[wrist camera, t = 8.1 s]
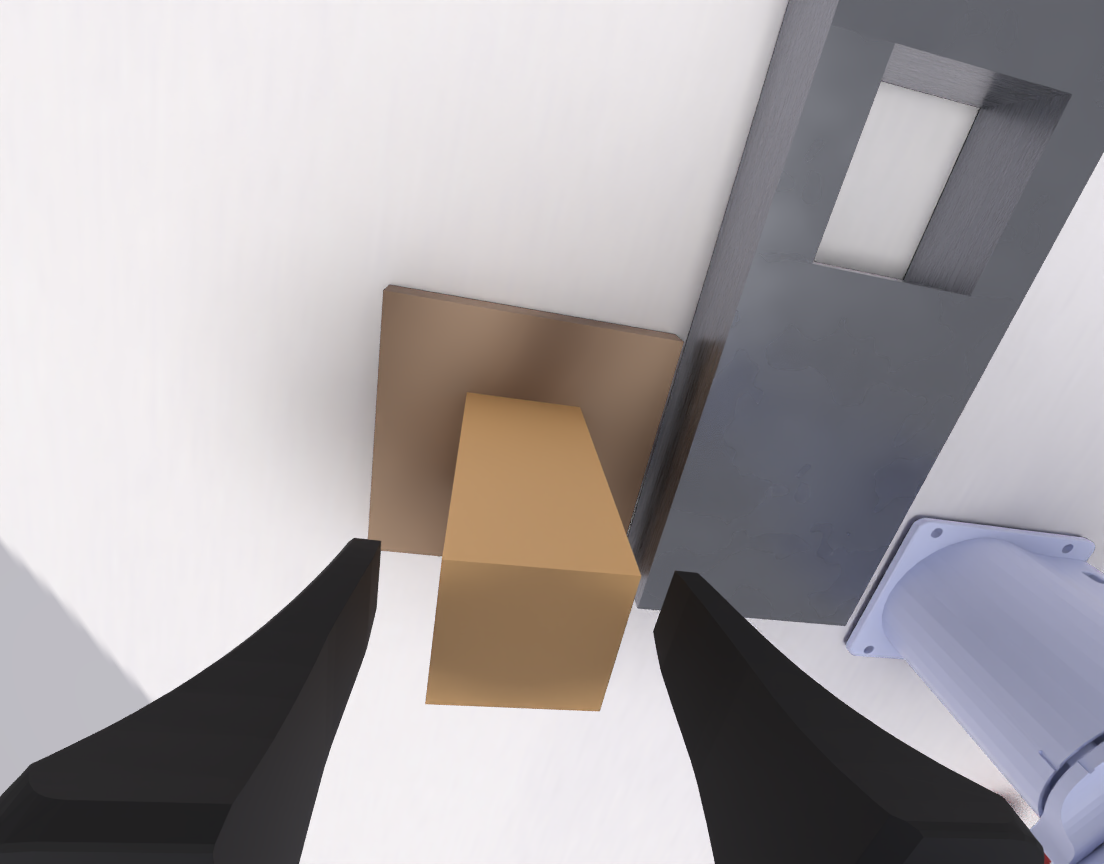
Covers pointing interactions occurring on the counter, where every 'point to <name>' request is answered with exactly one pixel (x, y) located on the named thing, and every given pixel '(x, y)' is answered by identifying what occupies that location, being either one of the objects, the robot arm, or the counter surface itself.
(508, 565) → the peg
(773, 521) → the grey slotted block
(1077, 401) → the counter surface
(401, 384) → the board
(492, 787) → the counter surface
